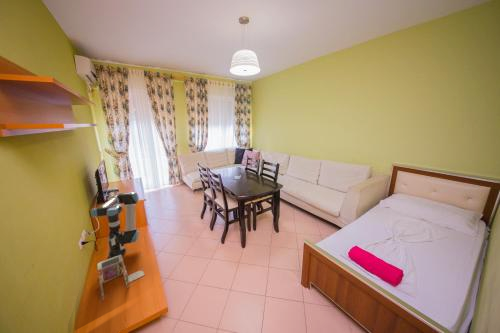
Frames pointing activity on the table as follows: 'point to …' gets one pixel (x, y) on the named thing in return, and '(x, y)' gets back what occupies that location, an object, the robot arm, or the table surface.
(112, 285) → the table surface
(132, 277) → the mat
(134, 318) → the table surface
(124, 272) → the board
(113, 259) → the cover
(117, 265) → the box
